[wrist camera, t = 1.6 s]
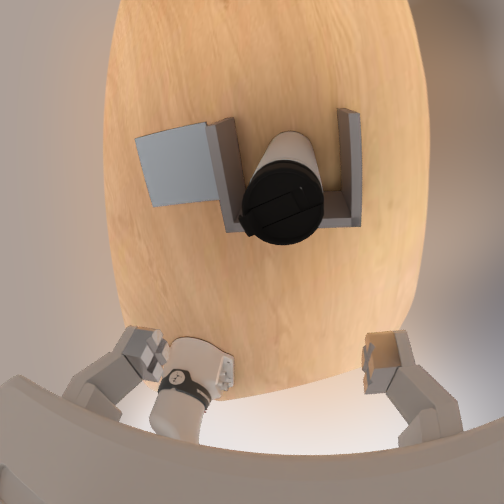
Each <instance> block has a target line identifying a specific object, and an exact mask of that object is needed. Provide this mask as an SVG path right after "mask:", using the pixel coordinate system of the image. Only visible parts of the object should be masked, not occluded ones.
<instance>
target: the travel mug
mask: <svg viewBox="0 0 504 504" xmlns="http://www.w3.org/2000/svg"><path fill="white" fill-rule="evenodd" d="M242 215H243V216H241V215H239V217H238V220H239V222H240V224H241V226H242V228H243V229H244V231H245V233H246V234H247V235H248V236H249V237H250V236H253V235H255V236H257V237H258V238H260V239H261V240H263V241H265V242H268V243H270V244H275V245H290V244H295V243H298V242H301V241H303V240H304V239H306V238H308V237H309V236H310V235H312V234H313V233H314V232H315V231H316V229H317V228H318V227H319V225H320V223H321V222H322V219H323V216H324V195H323V187H322V183H321V179H320V174H319V170H318V166H317V162H316V158H315V154H314V150H313V147H312V144H311V142H310V141H309V140H308V138H307V137H305V136H304V135H303V134H301V133H299V132H295V131H286V132H282V133H280V134H278V135H277V136H275V137H274V138H273V140H272V141H271V143H270V144H269V146H268V148H267V150H266V152H265V154H264V155H263V157H262V159H261V161H260V163H259V165H258V166H257V168H256V170H255V172H254V174H253V176H252V178H251V180H250V182H249V185H248V187H247V189H246V191H245V193H244V196H243V200H242Z"/></svg>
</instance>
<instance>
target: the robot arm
mask: <svg viewBox="0 0 504 504" xmlns="http://www.w3.org/2000/svg"><path fill="white" fill-rule="evenodd" d="M162 337H163V334H162V332H161V330H159V329H152V328H145V327H138V326H131V325H130V326H128V327H127V328H126V329H125V331H124V333H123V334H122V336H121V338H120V339H119V341H118V343H117V344H116V346H115V348H114V350H113V351H112V352H109V353H107V354H106V355H104V356H103V357H101V358H100V359H98V360H97V361H95V362H94V363H92V364H91V365H89V366H88V367H86V368H85V369H84V370H82V371H80V372H79V373H77V374H76V375H74V376H73V378H72V379H71V381H70V383H69V384H68V386H67V388H66V390H65V392H64V393H63V395H62V397H60V396H58V395H56V394H54V393H52V392H50V391H48V390H46V389H45V388H43V387H41V386H39V385H37V384H36V383H34V382H32V381H31V380H29V379H27V378H26V377H24V376H22V375H16V376H14V377H13V378H11V379H9V380H8V381H7V382H5V383H4V384H2V385H1V386H0V504H504V417H501V418H499V419H497V420H494V421H492V422H489V423H487V424H484V425H482V426H479V427H476V428H473V429H471V430H467V431H463V427H462V421H461V416H460V411H459V407H458V402H457V400H456V399H454V397H452V396H451V394H449V393H448V392H447V391H446V390H445V389H444V388H443V387H442V386H441V385H440V384H439V383H438V382H437V381H436V380H435V379H434V378H433V377H432V376H431V375H430V374H428V372H426V371H425V370H424V369H423V368H422V367H421V366H420V365H416V364H415V360H414V356H413V353H412V349H411V345H410V342H409V338H408V335H407V332H406V330H398V331H385V332H374V333H367V334H366V337H365V343H366V345H365V346H364V347H363V350H362V370H363V371H364V372H365V376H364V379H363V383H364V392H365V394H377V393H386V395H387V396H388V398H389V399H390V400H391V402H392V403H393V404H394V405H395V407H396V408H397V410H398V411H399V412H400V414H401V415H402V416H403V418H404V419H405V420H406V422H407V423H408V424H409V426H408V427H407V428H406V429H405V430H404V431H403V432H402V433H401V435H400V436H399V437H398V443H399V448H394V449H387V450H381V451H372V452H364V453H353V454H339V455H279V454H264V453H253V452H244V451H236V450H229V449H222V448H216V447H210V446H205V445H200V444H199V432H200V426H201V422H202V418H203V414H204V412H205V410H207V407H208V406H209V405H210V402H211V400H213V399H217V398H220V397H221V396H222V394H223V391H228V387H232V386H233V385H234V357H233V356H231V355H229V354H227V353H224V352H222V351H220V350H219V349H218V348H216V347H215V346H213V345H212V344H210V343H208V342H205V341H203V340H199V339H195V338H188V337H185V338H179V339H176V340H175V341H173V343H172V345H171V347H169V345H168V343H167V341H165V340H164V339H163V338H162ZM163 365H164V366H163ZM161 376H162V378H163V379H162V381H161V383H160V385H159V389H158V396H157V399H156V402H155V404H154V406H153V409H152V411H151V414H150V417H149V421H150V425H151V427H152V429H153V430H154V431H155V432H156V434H154V433H151V432H147V431H144V430H141V429H137V428H135V427H132V426H129V425H126V424H123V423H120V422H119V420H120V418H121V416H122V412H121V411H120V410H119V409H118V408H117V407H116V406H115V405H116V404H117V403H118V402H119V401H120V400H122V398H124V397H125V396H126V395H127V394H128V393H129V392H130V391H131V390H132V389H134V388H135V387H136V386H137V385H138V384H139V383H140V382H141V381H142V380H148V381H153V382H159V380H160V378H161ZM205 413H206V412H205Z"/></svg>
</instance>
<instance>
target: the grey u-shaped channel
mask: <svg viewBox="0 0 504 504" xmlns="http://www.w3.org/2000/svg"><path fill="white" fill-rule="evenodd" d="M337 116H338V128H339V143H340V162H341V191H323V195H324V216H323V219H322V222H321V223H320V225H319V227H318V228H336V227H361V213H362V146H361V125H360V113H357V112H354V111H351V110H349V109H346V108H342V109H337ZM205 131H206V136H207V141H208V146H209V152H210V157H211V162H212V167H213V172H214V177H215V182H216V186H217V191H218V196H219V201H220V206H221V211H222V215H223V220H224V225H225V229H226V233H229V232H245V231H244V229H243V228H242V226H241V224H240V222H239V220H238V217H239V215H241V216H243V215H242V200H243V196H244V193H245V191H246V188H245V182H244V176H243V170H242V164H241V158H240V152H239V146H238V140H237V134H236V128H235V122H234V117H232V118H225V119H223V120H220V121H218V122H215V123H213V124H210V125H208V126H206V127H205Z"/></svg>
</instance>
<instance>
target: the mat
mask: <svg viewBox="0 0 504 504" xmlns="http://www.w3.org/2000/svg"><path fill="white" fill-rule="evenodd" d="M206 126H207V123H206V122H203V123H198V124H193V125H188V126H183V127H179V128H174V129H170V130H166V131H162V132H158V133H154V134H150V135H147V136H143V137H139V138H136V139H135V142H136V147H137V151H138V155H139V158H140V162H141V166H142V170H143V174H144V177H145V181H146V184H147V188H148V191H149V195H150V198H151V202H152V205H153V207H159V206H167V205H175V204H183V203H192V202H201V201H211V200H219V196H218V191H217V186H216V182H215V177H214V172H213V167H212V162H211V157H210V152H209V146H208V141H207V136H206V131H205V127H206Z"/></svg>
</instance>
